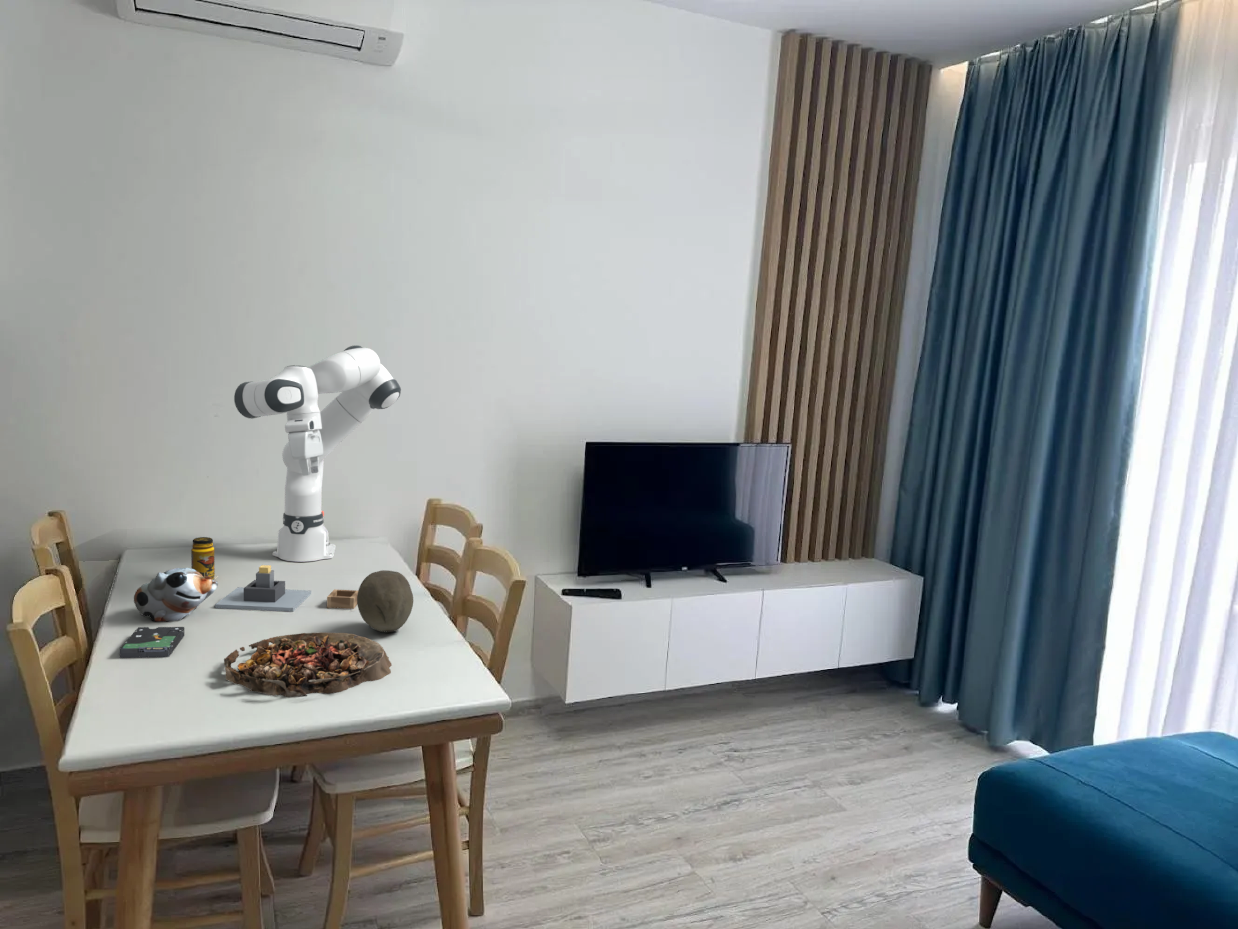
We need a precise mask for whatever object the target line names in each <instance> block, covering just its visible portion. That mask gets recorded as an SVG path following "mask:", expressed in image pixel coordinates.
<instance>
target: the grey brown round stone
mask: <svg viewBox="0 0 1238 929" xmlns="http://www.w3.org/2000/svg"><path fill="white" fill-rule="evenodd" d="M413 606H414V595H413V591H412V588H411V585H410V582H409V581H408V579H407V577H406V576H405V575H403V573H401V572H398V571H394V570H383V569H382V570H379V571H374V572H371V573H369V574H368V575H367V576H365V578H363V580H362V582H361V583H360V585H359V587H358V595H357V608H358V612H359V614H360V617H361V619H363V621H364V623H365V624H367V625H368V626H369V627H370V628H372V629H374V630H375V631H376V632H382V633H393V632H396V631H398V630H399V629H401V628H402V627H403V626H404V625H405V624H406V623H407V621H408V620H409V617H410V616H411V613H412V611H413V610H412V609H413Z"/></svg>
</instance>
